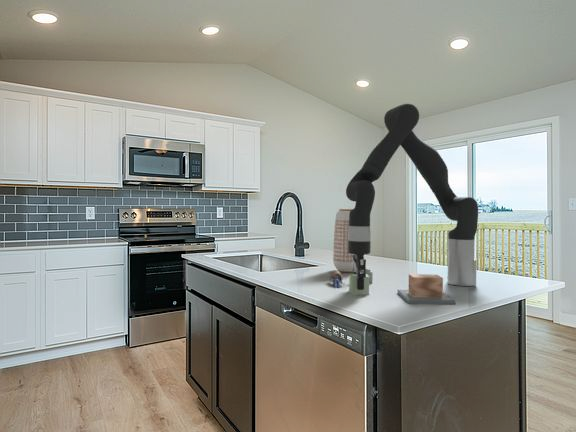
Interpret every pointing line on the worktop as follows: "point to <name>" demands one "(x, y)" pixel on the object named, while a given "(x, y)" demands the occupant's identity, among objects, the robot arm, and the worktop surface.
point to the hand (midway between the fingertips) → (358, 287)
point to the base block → (425, 285)
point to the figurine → (336, 278)
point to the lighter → (369, 275)
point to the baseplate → (426, 298)
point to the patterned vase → (342, 242)
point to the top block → (353, 285)
